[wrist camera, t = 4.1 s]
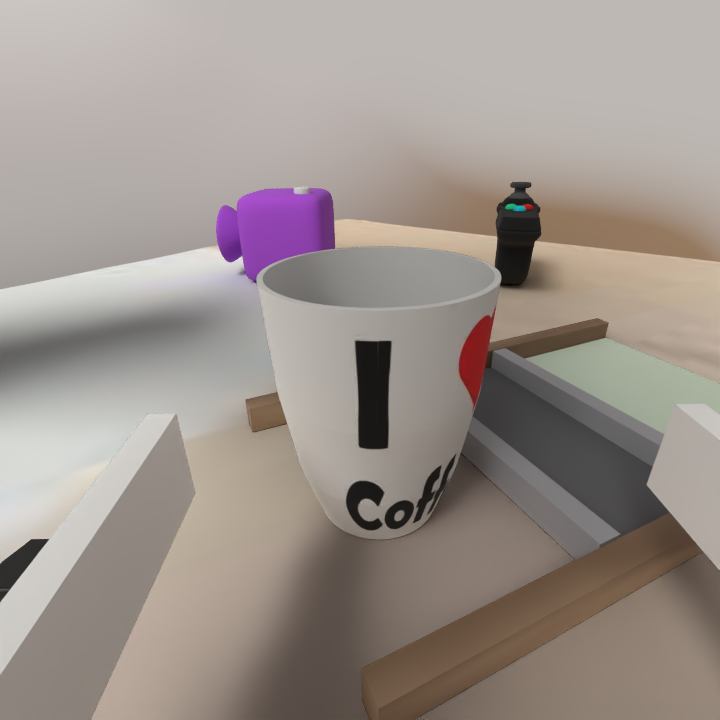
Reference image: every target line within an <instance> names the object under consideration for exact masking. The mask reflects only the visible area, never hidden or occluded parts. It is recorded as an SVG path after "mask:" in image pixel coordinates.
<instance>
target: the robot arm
mask: <svg viewBox="0 0 720 720" xmlns="http://www.w3.org/2000/svg"><path fill="white" fill-rule="evenodd" d="M647 486H648V487H649V488H650V490H651V491H652V492H653V493H654V494H655V495H656V497H657V498H658V499H659V500H660V501H661V502H662V504H663V505H664V506H665V507H666V508H667V509H668V511H669V512H670V513H671V514H672V515H673V517H674V518H675V519H676V520H677V521H678V522H679V524H680V525H681V526H682V527H683V528H684V529H685V531H686V532H687V533H688V534H689V535H690V536H691V538H692V539H693V540H694V541H695V542H696V543H697V545H698V546H699V547H700V548H701V549H702V551H703V552H704V553H705V554H706V555H707V556H708V558H709V559H710V560H711V561H712V562H713V563H714V565H715V566H716V567H717V568H718V569H719V570H720V415H719V414H718V413H716V412H715V411H714V410H712V409H711V408H710V407H708V406H707V405H706V404H675V406H674V409H673V412H672V414H671V417H670V420H669V423H668V426H667V428H666V431H665V434H664V437H663V440H662V443H661V445H660V448H659V451H658V454H657V457H656V459H655V462H654V465H653V468H652V471H651V473H650V476H649V479H648V482H647ZM194 495H195V489H194V485H193V481H192V477H191V473H190V468H189V464H188V460H187V456H186V452H185V448H184V444H183V440H182V435H181V431H180V427H179V423H178V419H177V415H176V413H165V414H147V415H146V416H145V417H144V418H143V420H142V421H141V422H140V424H139V425H138V426H137V427H136V429H135V430H134V431H133V433H132V434H131V435H130V436H129V438H128V439H127V440H126V442H125V443H124V444H123V445H122V447H121V448H120V449H119V450H118V452H117V453H116V454H115V456H114V457H113V458H112V459H111V461H110V462H109V463H108V465H107V466H106V467H105V468H104V470H103V471H102V472H101V474H100V475H99V476H98V477H97V479H96V480H95V481H94V483H93V484H92V485H91V486H90V488H89V489H88V490H87V492H86V493H85V494H84V495H83V497H82V498H81V499H80V501H79V502H78V503H77V504H76V506H75V507H74V508H73V510H72V511H71V512H70V513H69V515H68V516H67V517H66V519H65V520H64V521H63V522H62V524H61V525H60V526H59V528H58V529H57V530H56V531H55V533H54V534H53V535H52V537H51V538H50V539H31V540H30V541H29V542H27V543H26V544H25V545H24V546H22V547H21V548H20V549H18V550H17V551H16V552H14V553H13V554H12V555H10V556H9V557H8V558H7V559H5V560H4V561H3V562H2V563H1V564H0V720H91V718H92V716H93V713H94V711H95V709H96V707H97V705H98V703H99V700H100V698H101V696H102V694H103V692H104V690H105V688H106V685H107V683H108V681H109V679H110V677H111V675H112V672H113V670H114V668H115V666H116V664H117V662H118V659H119V657H120V655H121V653H122V651H123V649H124V646H125V644H126V642H127V640H128V638H129V636H130V633H131V631H132V629H133V627H134V625H135V623H136V620H137V618H138V616H139V614H140V612H141V610H142V608H143V605H144V603H145V601H146V599H147V597H148V595H149V592H150V590H151V588H152V586H153V584H154V582H155V579H156V577H157V575H158V573H159V571H160V569H161V566H162V564H163V562H164V560H165V558H166V556H167V553H168V551H169V549H170V547H171V545H172V543H173V541H174V538H175V536H176V534H177V532H178V530H179V528H180V525H181V523H182V521H183V519H184V517H185V515H186V512H187V510H188V508H189V506H190V504H191V502H192V499H193V497H194Z"/></svg>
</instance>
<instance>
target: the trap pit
mask: <svg viewBox="0 0 720 720" xmlns="http://www.w3.org/2000/svg"><path fill="white" fill-rule="evenodd" d="M663 437H664V434H663V433H661V432H659V431H657V430H655V429H654V428H652V427H650V426H648V425H646V424H644V423H642V422H641V421H639V420H637V419H635V418H633V417H631V416H630V415H628V414H626V413H624V412H622V411H620V410H618V409H617V408H615V407H613V406H611V405H609V404H607V403H606V402H604V401H602V400H600V399H598V398H596V397H594V396H593V395H591V394H589V393H587V392H585V391H583V390H582V389H580V388H578V387H576V386H574V385H572V384H570V383H569V382H567V381H565V380H563V379H561V378H559V377H557V376H556V375H554V374H552V373H550V372H548V371H546V370H545V369H543V368H541V367H539V366H537V365H535V364H533V363H532V362H530V361H528V360H526V359H524V358H522V357H521V356H519V355H517V354H515V353H513V352H511V351H509V350H508V349H506V348H504V349H500V350H495V351H493V356H492V364H491V367H490V368H486V369H484V373H483V379H482V384H481V389H480V394H479V397H478V400H477V403H476V406H475V409H474V413H473V416H472V419H471V422H470V425H469V428H468V431H467V435H466V438H465V441H464V444H463V447H462V450H461V453H462V454H463V455H464V456H465V457H466V458H467V459H468V460H469V461H471V462H472V463H473V464H474V465H475V466H476V467H477V468H478V469H479V470H480V471H481V472H482V473H483V474H484V475H485V476H487V477H488V478H489V479H490V480H491V481H492V482H493V483H494V484H495V485H496V486H497V487H498V488H499V489H500V490H501V491H502V492H504V493H505V494H506V495H507V496H508V497H509V498H510V499H511V500H512V501H513V502H514V503H515V504H516V505H517V506H518V507H520V508H521V509H522V510H523V511H524V512H525V513H526V514H527V515H528V516H529V517H530V518H531V519H532V520H533V521H534V522H536V523H537V524H538V525H539V526H540V527H541V528H542V529H543V530H544V531H545V532H546V533H547V534H548V535H549V536H550V537H552V538H553V539H554V540H555V541H556V542H557V543H558V544H559V545H560V546H561V547H562V548H563V549H564V550H565V551H566V552H568V553H569V554H570V555H571V556H572V557H573V558H574V559H575V560H577V559H579V558H581V557H583V556H585V555H587V554H589V553H591V552H593V551H595V550H597V549H599V548H601V547H603V546H605V545H607V544H609V543H611V542H613V541H615V540H617V539H618V538H620V537H622V536H624V535H626V534H628V533H630V532H632V531H634V530H636V529H638V528H640V527H642V526H644V525H646V524H648V523H650V522H652V521H654V520H656V519H658V518H660V517H662V516H664V515H666V514H668V513H670V512H669V511H668V509H667V508H666V507H665V506H664V505H663V504H662V502H661V501H660V500H659V499H658V498H657V497H656V495H655V494H654V493H653V492H652V491H651V490H650V488H649V487H648V486H647V482H648V479H649V476H650V473H651V471H652V468H653V465H654V462H655V459H656V457H657V454H658V451H659V448H660V445H661V443H662V440H663Z"/></svg>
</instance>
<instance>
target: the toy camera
mask: <svg viewBox="0 0 720 720" xmlns="http://www.w3.org/2000/svg"><path fill="white" fill-rule="evenodd" d="M333 212H334V211H333V200H332V197H331V194H330V193H329V192H328V191H327V190H324V189H317V188H310V187H296V188H287V189H286V188H285V189H264V190H260V191H256V192H253V193H250V194H247V195H245V196H243V197H241V198H240V199H239V200H238V203H237V211H236V210H234V209H233V208H231V207H229V206H227V205H225V206H222V207H221V209H220V211H219V214H218V217H217V226H216V233H217V241H218V246H219V249H220V251H221V254H222V256H223V257H224V258H225V260H226V261H228V262H233V261H235V260H237V259H238V258H239V257H241V256H243V263H244V268H245V272H246V274H247V276H248V278H249V279H251V280H254V281H256V278H257V275H258V274H259V272H260V271H261V270H263V269H264V268H265V267H267V266H269V265H271V264H273V263H275V262H277V261H280V260H283V259H286V258H289V257H293V256H297V255H301V254H306V253H311V252H316V251H323V250H330V249H335V233H334V213H333Z"/></svg>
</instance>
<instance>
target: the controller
mask: <svg viewBox="0 0 720 720" xmlns="http://www.w3.org/2000/svg"><path fill="white" fill-rule="evenodd" d="M511 187H512V188H515V192H514V193H512V194H511V195H510V196H509V197H507V198H506V199H505V200H504V201H503V202H502V203H499V205H498V207H497V213H498V216H497V219H496V228H497V250H496V259H495V268H497V269H498V271H499V272H500V274H501V283H503V284H520V283H522V282H524V281H525V280H526V278H527V275H528V271H529V267H530V262H531V257H532V252H533V247H534V243H535V241H536V240H537V239H538V238H539V237H540V236H541V226H540V218H539V215H538V214H539V212H540V207H539V206H538V205H537V204H535V203H534V201H533V199H532V198H531V197H529V195H528V194H527V193H526V192H525V190H526V188H529V187H531V183H529V182H512V183H511Z"/></svg>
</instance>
